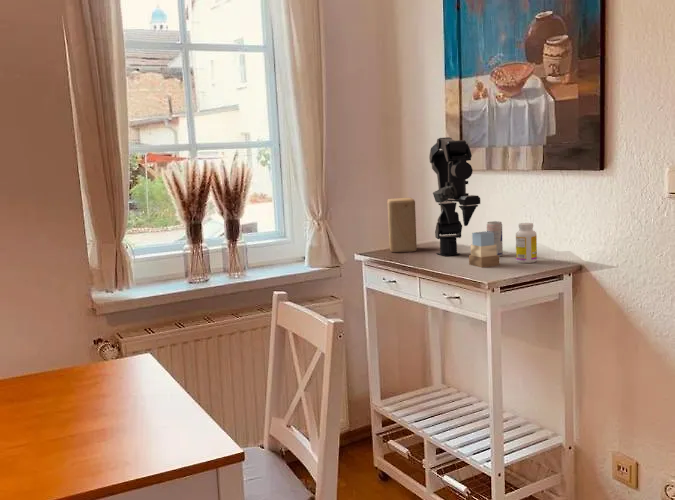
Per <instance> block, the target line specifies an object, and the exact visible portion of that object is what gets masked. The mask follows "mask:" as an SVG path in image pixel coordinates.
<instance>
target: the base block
mask: <svg viewBox="0 0 675 500" xmlns="http://www.w3.org/2000/svg"><path fill="white" fill-rule="evenodd" d="M468 264H469V265H470V266H474V267H478V268H487V267H494V266H500V257H499V255H496V256H488V257H477V256H473V255H471V254H469V255H468Z"/></svg>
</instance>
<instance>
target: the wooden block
mask: <svg viewBox="0 0 675 500" xmlns="http://www.w3.org/2000/svg"><path fill="white" fill-rule="evenodd" d="M386 202H387V223H388V224H387V225H388V226H387V227H388V228H387V229H388V247H389V250H390V252H391V253H412V252H416V251H417V250H418V248H417V247H418V245H417V222H416V221H417V219H416V201H415V199H414V198H412V197H398V198H397V197H396V198H395V197H394V198H388V199H387V201H386Z"/></svg>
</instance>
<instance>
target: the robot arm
mask: <svg viewBox="0 0 675 500" xmlns="http://www.w3.org/2000/svg"><path fill="white" fill-rule="evenodd" d="M472 157H473V154H472V151H471V147H470V146H469V143H467V141H466V139H465V140H464V139H463V140H462V139H461V140H455V139H453V138H452V137H438V138H437V140H436V143H435V144H433V146H432V147H430V151H429V163H430V164H431V169H432V170H433V172H434V173H435V174H436V176H437V186H438V189H437V190H435V191H433V192H432V195H433V199H434V201H435V203H437V204H438V206H440V214H439V216H438V218H437V222H436V226H435V231H434V235H435V238H436V239H437V240H439V252H436V255H439V256H443V257H451V256H456V255H457V256H458V255H461V252H458V244H457V239H461V238H462V231H463V226H464V227H467V226H468V225H469V223H470V221H471V219H472V216H473V214H474V212H475V211H476V208H477V207H479V205H481V197H480V196H479V195H477V194H476V195H475V194H470V195H469V193H468V192H467V188H466V187H467V185H469V180H468V179H470V177H471V176H472V175H473V167H472V165H471V164H470V163H469V162H467V161H472ZM457 203H458V204H459V206H458V208H460V210H462V211H461V212H462V213H461V214H462V218H463V219H462V221H463V224H462V223H461V222H462V221H461V220H460V218H459V216H460V215H459V213H458V211H456V208H457Z"/></svg>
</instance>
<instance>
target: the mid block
mask: <svg viewBox="0 0 675 500" xmlns="http://www.w3.org/2000/svg"><path fill="white" fill-rule="evenodd" d="M470 255H473V256H477V257H488V256H496V255H497V248H496V245H495V244H494V245H489V246H476V245H473V244H470Z"/></svg>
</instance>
